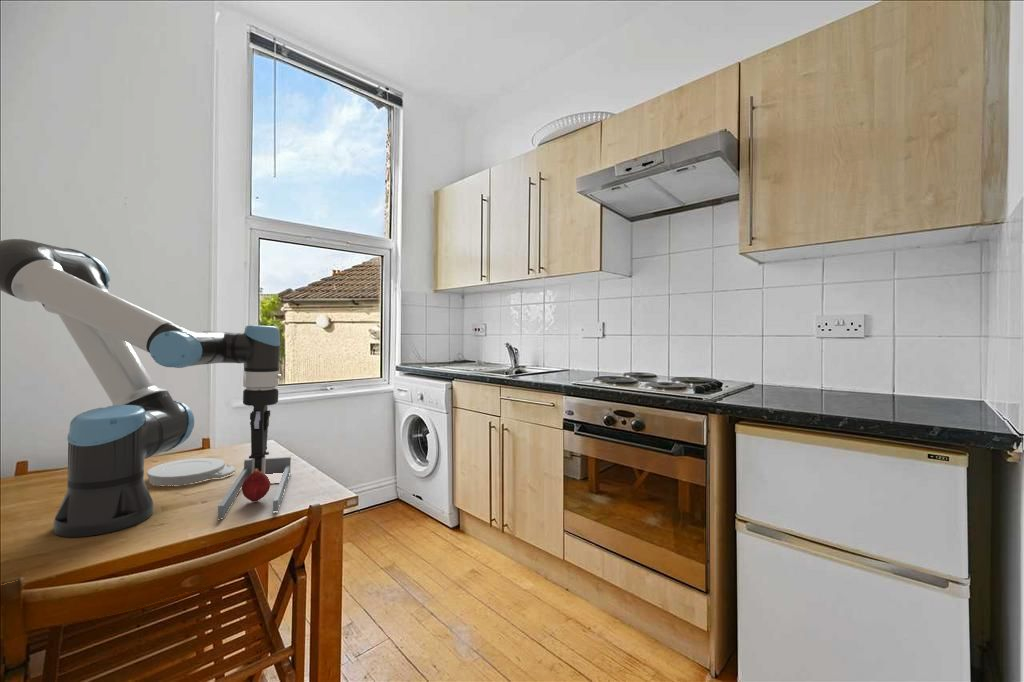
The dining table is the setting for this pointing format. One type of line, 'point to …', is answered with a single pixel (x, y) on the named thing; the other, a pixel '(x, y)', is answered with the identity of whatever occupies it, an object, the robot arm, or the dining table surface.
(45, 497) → the dining table surface
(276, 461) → the channel
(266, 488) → the onion
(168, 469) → the lid
